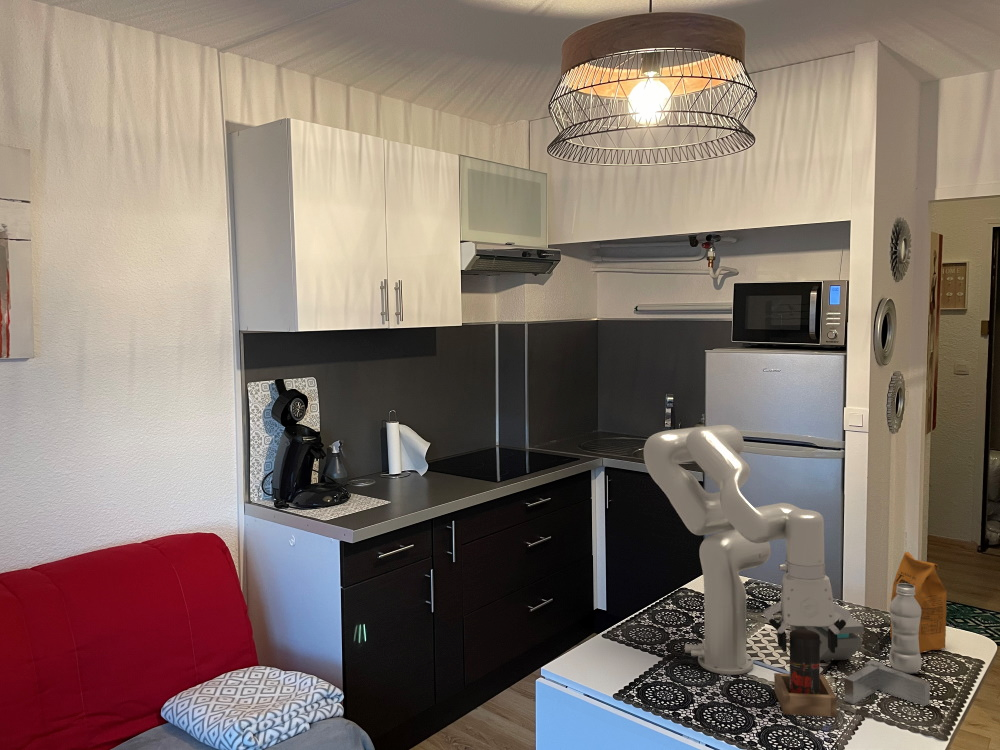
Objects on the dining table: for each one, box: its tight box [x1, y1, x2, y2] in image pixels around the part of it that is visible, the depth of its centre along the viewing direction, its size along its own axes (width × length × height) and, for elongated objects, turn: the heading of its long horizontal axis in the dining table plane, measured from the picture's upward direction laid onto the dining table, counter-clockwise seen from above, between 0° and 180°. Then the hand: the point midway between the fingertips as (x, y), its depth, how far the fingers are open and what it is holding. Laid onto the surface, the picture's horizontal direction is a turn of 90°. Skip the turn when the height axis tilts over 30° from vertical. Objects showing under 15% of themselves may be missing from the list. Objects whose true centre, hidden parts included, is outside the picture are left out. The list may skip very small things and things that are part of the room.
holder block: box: [773, 672, 838, 718], centre depth 168 cm, size 10×10×4 cm
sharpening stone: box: [789, 611, 865, 661], centre depth 194 cm, size 25×8×11 cm, turn 4°
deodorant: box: [789, 629, 821, 694], centre depth 168 cm, size 6×6×15 cm
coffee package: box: [889, 551, 948, 654], centre depth 196 cm, size 10×12×22 cm
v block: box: [843, 659, 931, 706], centre depth 172 cm, size 17×11×5 cm
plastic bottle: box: [888, 583, 923, 675], centre depth 181 cm, size 6×7×20 cm
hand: (807, 650), depth 167 cm, fingers open, 9 cm apart
